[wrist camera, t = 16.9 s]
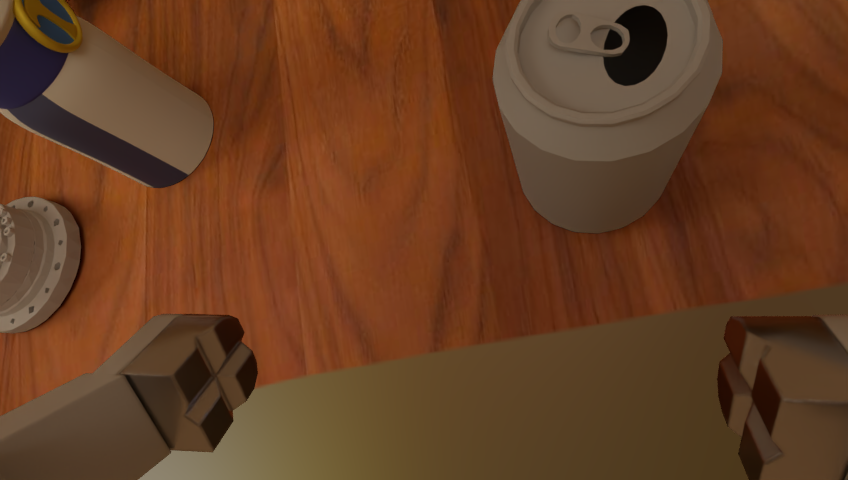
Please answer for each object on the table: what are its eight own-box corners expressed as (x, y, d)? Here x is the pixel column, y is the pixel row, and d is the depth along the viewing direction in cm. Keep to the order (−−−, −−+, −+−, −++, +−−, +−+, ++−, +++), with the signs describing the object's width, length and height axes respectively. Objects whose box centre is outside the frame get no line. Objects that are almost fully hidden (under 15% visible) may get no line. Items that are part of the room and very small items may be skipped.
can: (649, 252, 25) (712, 159, 13) (505, 220, 27) (457, 120, 16) (680, 117, 26) (762, -71, 15) (539, 99, 28) (517, -74, 17)
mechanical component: (104, 272, 34) (59, 177, 38) (40, 260, 30) (-3, 154, 34) (4, 362, 35) (-31, 259, 39) (-71, 361, 31) (-102, 247, 35)
